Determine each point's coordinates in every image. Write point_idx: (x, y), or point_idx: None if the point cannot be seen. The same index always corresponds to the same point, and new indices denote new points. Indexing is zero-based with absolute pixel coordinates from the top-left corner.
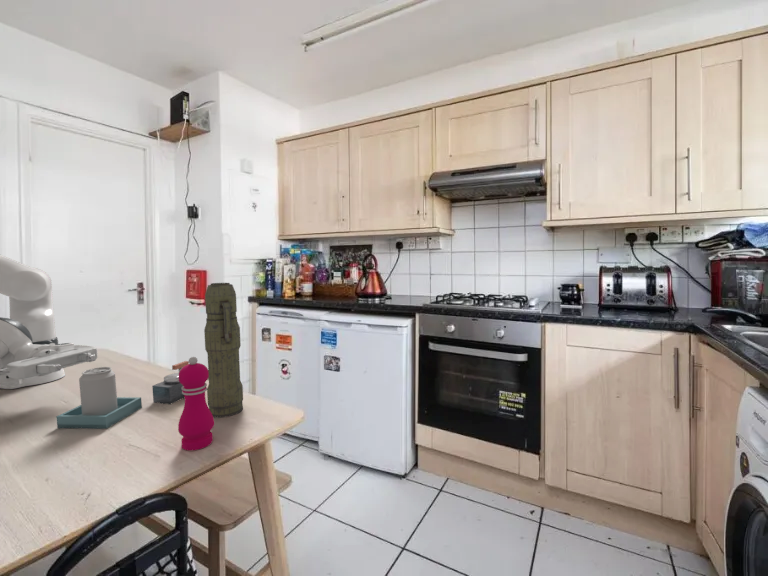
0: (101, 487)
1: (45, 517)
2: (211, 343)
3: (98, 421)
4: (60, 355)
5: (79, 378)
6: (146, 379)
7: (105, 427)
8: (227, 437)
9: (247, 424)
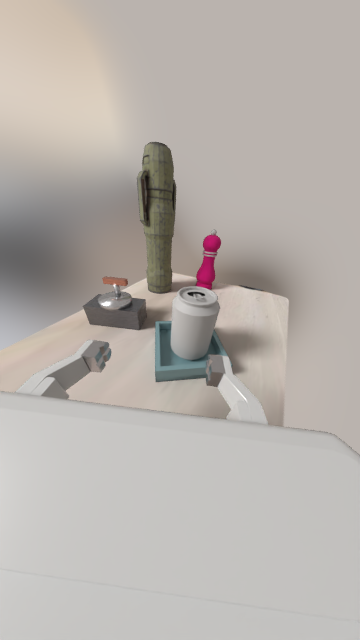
0: (251, 297)
1: (274, 301)
2: (173, 227)
3: None
4: (123, 437)
5: (214, 313)
6: None
7: None
8: (193, 282)
9: (177, 280)
